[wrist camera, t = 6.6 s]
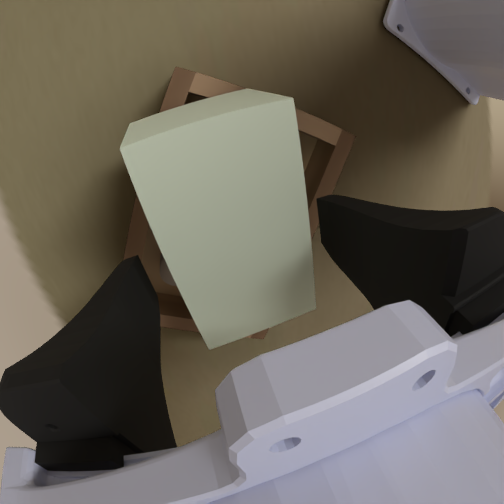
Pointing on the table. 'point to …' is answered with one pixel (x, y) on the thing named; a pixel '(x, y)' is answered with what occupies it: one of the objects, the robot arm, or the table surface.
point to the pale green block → (228, 209)
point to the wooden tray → (315, 172)
